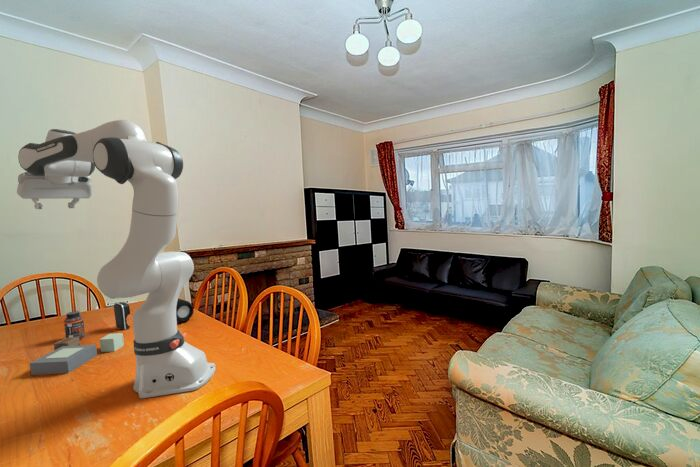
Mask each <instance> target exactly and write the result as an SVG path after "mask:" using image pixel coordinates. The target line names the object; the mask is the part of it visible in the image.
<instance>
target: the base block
mask: <svg viewBox="0 0 700 467" xmlns="http://www.w3.org/2000/svg"><path fill="white" fill-rule="evenodd" d="M96 356H98V351H97V345H96V344H82V345H81V344H80V345H78V346H62V347H60V348H58V349H56V350H54V349H53V350H52V351H50V352H48V353H46V354H45V355H43V356H41V357H39V358H37V359H35V360H33V361H31V362H29V367H30V375H33V376H35V375H37V376H38V375H51V374H53V375H54V374H55V375H56V374H70V373H71V372H73V371H74V370H76V369H78V368H79V367H81V366H82V365H84V364H85V363H87V362H88V361H90V360H92V359H93V358H95V357H96Z"/></svg>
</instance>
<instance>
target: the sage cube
mask: <svg viewBox="0 0 700 467" xmlns="http://www.w3.org/2000/svg"><path fill="white" fill-rule="evenodd" d="M99 346H100V352H101V353H107V352H108V353H109V352H112V353H113V352H117V350H119V349H121V348H122V347H124V346H125V342H124V335H123V333H122V332H120V333H119V332H118V333H109V334H106V335H104V336H103V337H102V338H100V339H99Z"/></svg>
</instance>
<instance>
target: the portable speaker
mask: <svg viewBox="0 0 700 467" xmlns="http://www.w3.org/2000/svg"><path fill="white" fill-rule="evenodd" d="M194 312H195V309H194V307H193V305H192V303H191V302H190V301H187V300H185V299H181V298H178V301H177V307H176V317H177V323H184V322H186V321H188V320H190V319H191V318H192V316H193V315H194Z"/></svg>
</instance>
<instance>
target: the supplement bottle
mask: <svg viewBox="0 0 700 467" xmlns="http://www.w3.org/2000/svg"><path fill="white" fill-rule="evenodd" d="M65 315H66V318H65V319H64V320H63V324H64V325H63V326H64V332H65V333H64V334H65V338H73V337H79V341H80V340H82V339H84V338H85V336H86V334H85V333H86V332H85V324H84V317H83V316H82V315H80V311H79V310H75V311H69V312H67V313H66V314H65Z"/></svg>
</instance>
